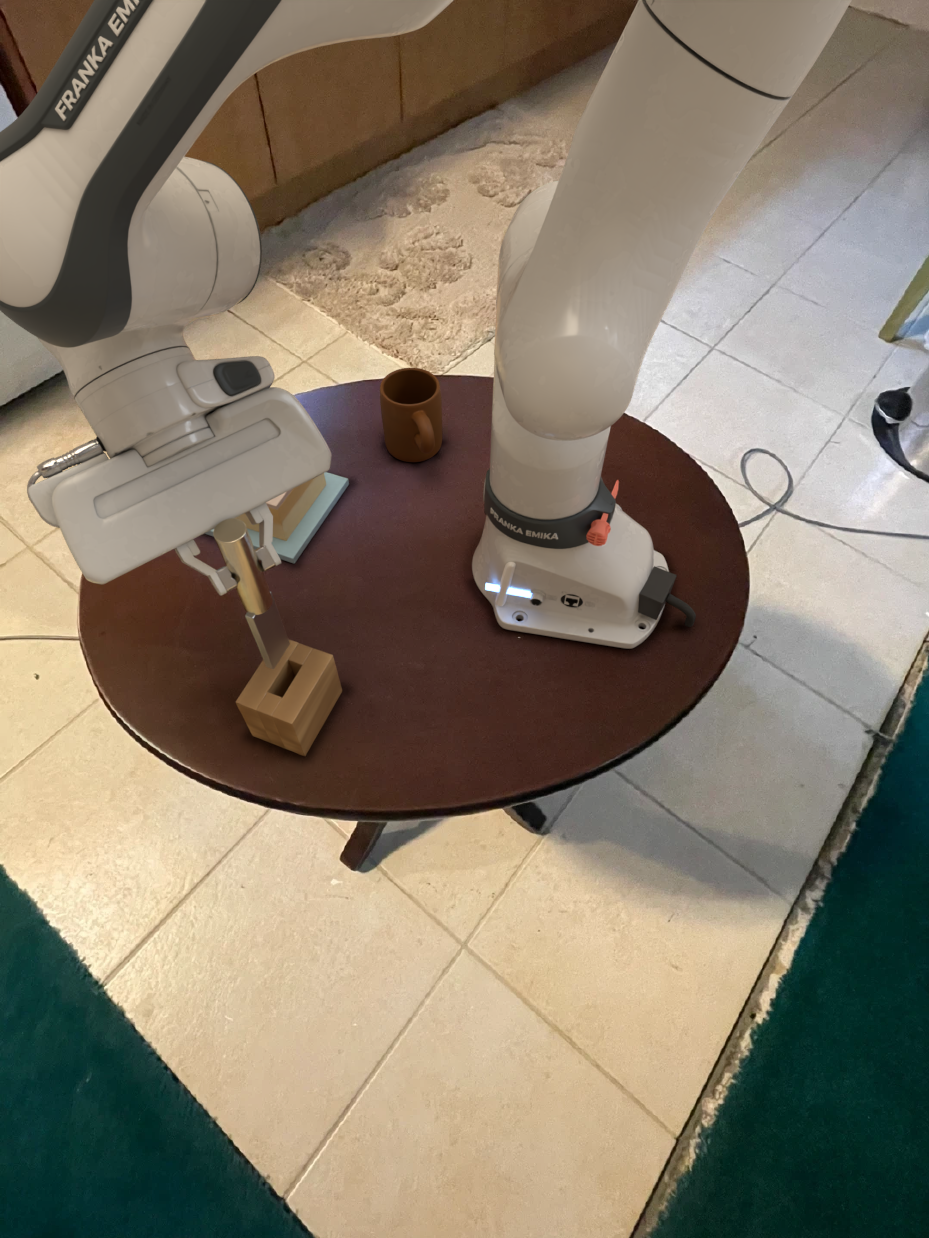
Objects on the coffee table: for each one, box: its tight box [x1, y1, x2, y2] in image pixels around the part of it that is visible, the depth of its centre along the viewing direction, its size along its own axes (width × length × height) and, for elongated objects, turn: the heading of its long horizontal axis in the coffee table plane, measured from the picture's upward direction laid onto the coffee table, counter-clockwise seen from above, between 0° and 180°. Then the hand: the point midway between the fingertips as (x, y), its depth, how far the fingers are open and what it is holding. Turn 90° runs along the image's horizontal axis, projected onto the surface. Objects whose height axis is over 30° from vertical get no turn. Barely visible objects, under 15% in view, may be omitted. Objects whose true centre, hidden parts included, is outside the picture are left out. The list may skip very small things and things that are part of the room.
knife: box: [213, 518, 290, 669], centre depth 62 cm, size 2×3×17 cm
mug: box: [379, 367, 443, 463], centre depth 96 cm, size 12×8×9 cm, turn 18°
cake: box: [203, 471, 350, 564], centre depth 92 cm, size 18×14×7 cm
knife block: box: [235, 638, 343, 757], centre depth 75 cm, size 6×8×7 cm
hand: (251, 579), depth 59 cm, fingers closed on knife, 2 cm apart
